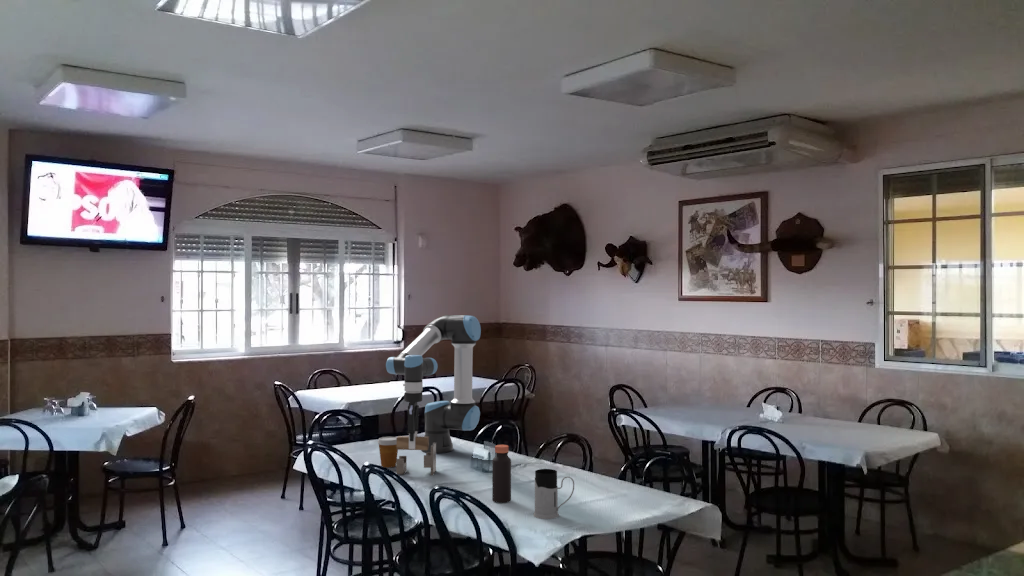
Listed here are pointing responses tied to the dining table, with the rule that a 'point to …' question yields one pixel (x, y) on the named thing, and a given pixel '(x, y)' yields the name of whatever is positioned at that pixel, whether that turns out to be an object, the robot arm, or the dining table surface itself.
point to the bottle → (501, 475)
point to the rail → (420, 443)
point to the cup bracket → (431, 459)
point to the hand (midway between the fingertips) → (412, 447)
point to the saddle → (401, 465)
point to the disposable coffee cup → (388, 451)
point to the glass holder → (547, 494)
